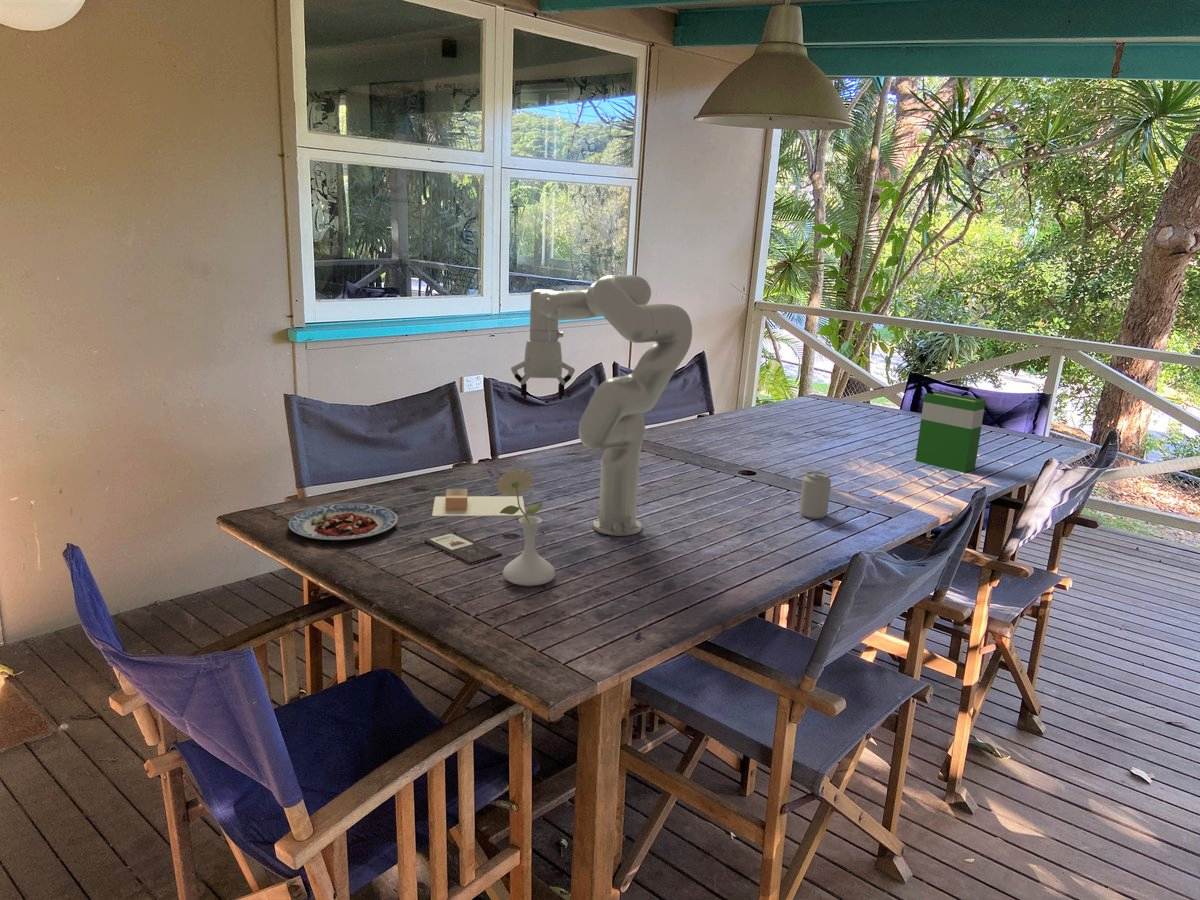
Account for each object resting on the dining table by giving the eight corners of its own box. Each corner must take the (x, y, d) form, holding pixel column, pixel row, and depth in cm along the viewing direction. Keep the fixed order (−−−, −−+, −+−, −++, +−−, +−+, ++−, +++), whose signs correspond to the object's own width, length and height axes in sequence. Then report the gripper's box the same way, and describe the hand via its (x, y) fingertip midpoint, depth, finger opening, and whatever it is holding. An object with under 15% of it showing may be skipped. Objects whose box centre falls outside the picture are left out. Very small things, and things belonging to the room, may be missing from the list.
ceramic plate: (419, 526, 216) (419, 515, 215) (336, 556, 195) (336, 543, 194) (350, 504, 230) (350, 494, 229) (266, 530, 209) (265, 518, 208)
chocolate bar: (470, 562, 192) (424, 540, 205) (470, 566, 193) (424, 544, 205) (501, 553, 199) (455, 532, 211) (501, 557, 199) (455, 535, 211)
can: (807, 520, 232) (811, 478, 229) (794, 511, 239) (798, 470, 235) (832, 519, 234) (836, 477, 231) (818, 510, 241) (822, 469, 237)
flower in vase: (555, 570, 191) (559, 462, 185) (554, 591, 180) (558, 477, 174) (497, 569, 191) (498, 460, 184) (492, 590, 180) (493, 475, 173)
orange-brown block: (467, 501, 233) (467, 488, 232) (466, 510, 226) (466, 497, 225) (446, 501, 233) (446, 488, 232) (445, 510, 225) (445, 498, 224)
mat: (525, 518, 224) (525, 515, 224) (432, 518, 221) (432, 515, 221) (522, 499, 239) (522, 496, 239) (435, 499, 236) (435, 496, 236)
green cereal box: (915, 461, 298) (924, 393, 292) (925, 457, 303) (935, 391, 297) (964, 473, 285) (975, 402, 279) (974, 469, 290) (985, 400, 284)
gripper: (574, 334, 235) (572, 396, 240) (511, 333, 233) (510, 395, 237) (577, 338, 228) (575, 401, 232) (512, 337, 226) (511, 400, 230)
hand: (542, 398), depth 235 cm, fingers open, 9 cm apart
